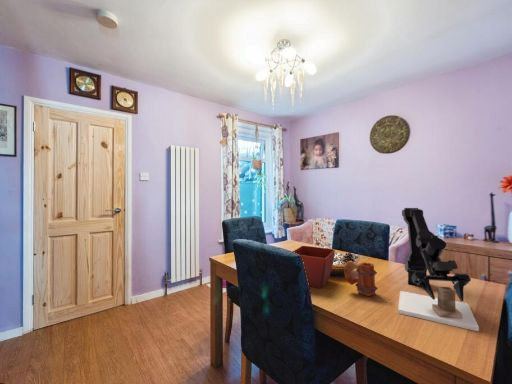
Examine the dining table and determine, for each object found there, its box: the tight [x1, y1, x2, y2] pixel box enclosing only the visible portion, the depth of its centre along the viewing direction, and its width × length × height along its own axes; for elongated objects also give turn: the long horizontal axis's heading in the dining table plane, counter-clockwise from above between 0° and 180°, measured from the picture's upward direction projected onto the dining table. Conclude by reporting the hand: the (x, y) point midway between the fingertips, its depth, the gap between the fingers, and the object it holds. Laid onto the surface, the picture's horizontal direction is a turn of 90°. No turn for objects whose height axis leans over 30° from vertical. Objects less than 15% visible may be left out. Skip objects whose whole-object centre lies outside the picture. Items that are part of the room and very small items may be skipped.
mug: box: [343, 260, 378, 297], centre depth 115 cm, size 15×8×15 cm, turn 71°
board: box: [397, 290, 480, 332], centre depth 98 cm, size 24×20×2 cm
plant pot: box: [292, 245, 336, 289], centre depth 129 cm, size 19×19×17 cm
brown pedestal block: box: [432, 286, 462, 319], centre depth 92 cm, size 7×6×10 cm
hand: (448, 300), depth 91 cm, fingers open, 9 cm apart
